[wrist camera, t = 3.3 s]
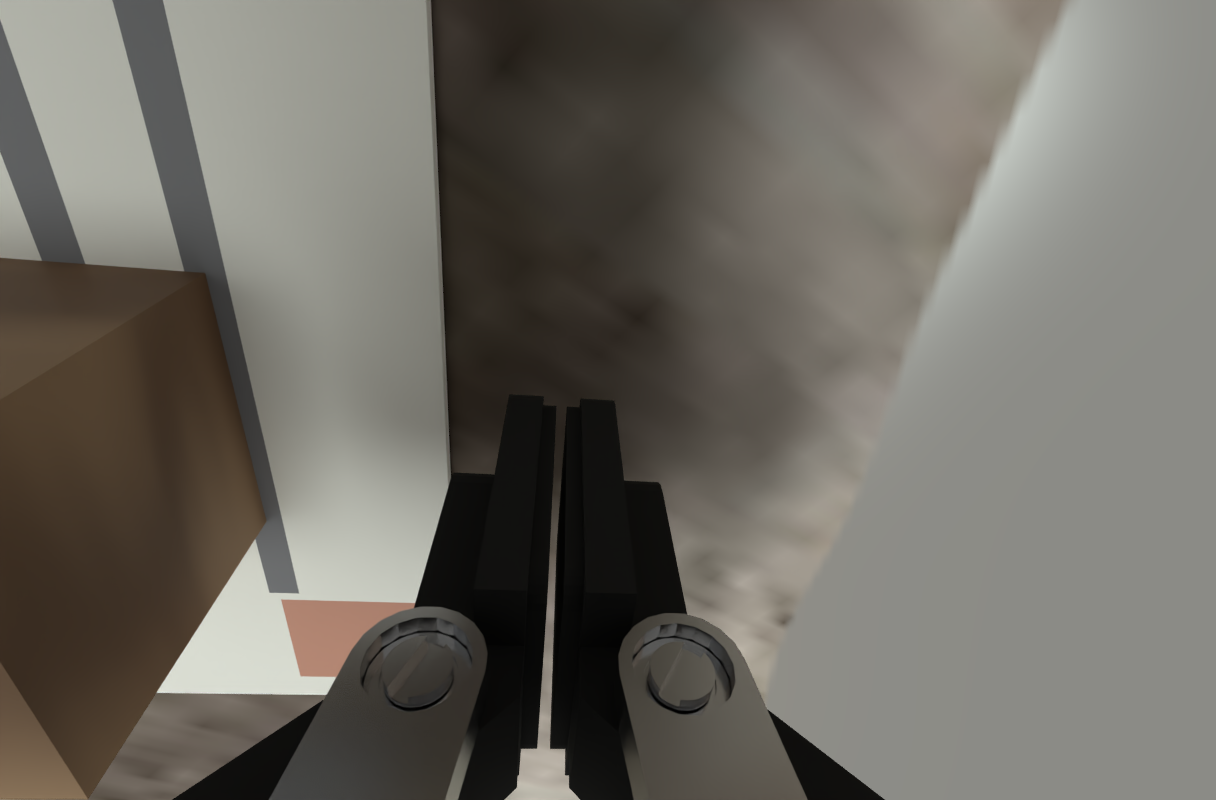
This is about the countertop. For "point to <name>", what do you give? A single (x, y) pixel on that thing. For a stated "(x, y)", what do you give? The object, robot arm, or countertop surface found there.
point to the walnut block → (107, 506)
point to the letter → (264, 274)
